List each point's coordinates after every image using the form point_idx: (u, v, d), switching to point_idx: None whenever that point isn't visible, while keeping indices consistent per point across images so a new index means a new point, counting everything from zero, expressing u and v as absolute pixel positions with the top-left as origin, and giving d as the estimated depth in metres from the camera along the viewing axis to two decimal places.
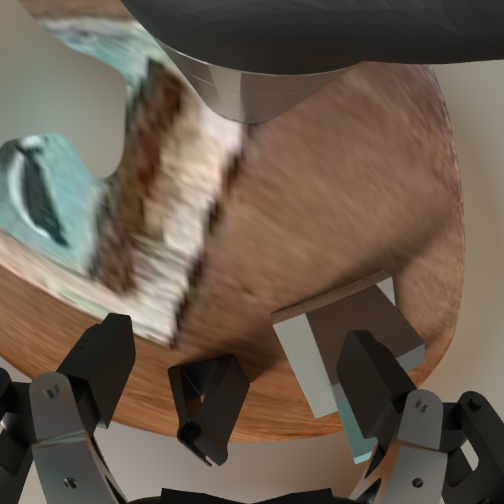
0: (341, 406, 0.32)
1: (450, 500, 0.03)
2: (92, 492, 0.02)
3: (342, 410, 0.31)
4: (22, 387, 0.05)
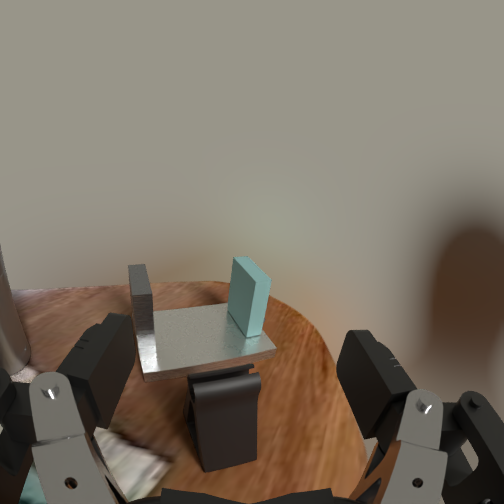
0: (246, 327, 0.42)
1: (451, 500, 0.03)
2: (92, 492, 0.02)
3: (246, 324, 0.41)
4: (22, 387, 0.05)
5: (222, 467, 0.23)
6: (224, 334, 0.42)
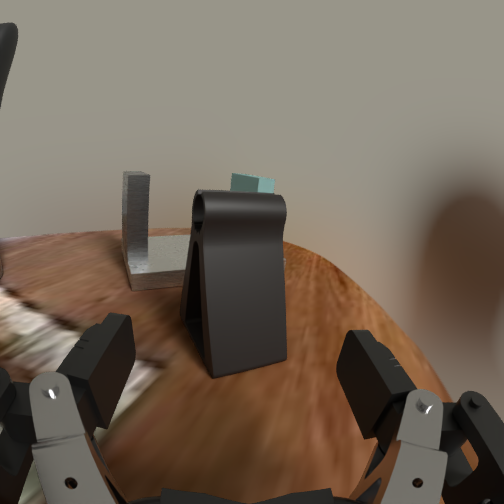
0: None
1: (450, 500, 0.03)
2: (92, 492, 0.02)
3: None
4: (22, 387, 0.05)
5: (239, 368, 0.18)
6: None
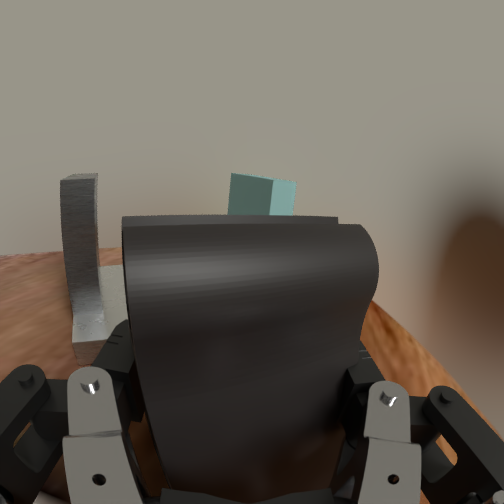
0: None
1: (433, 495, 0.04)
2: (120, 491, 0.03)
3: None
4: (56, 384, 0.05)
5: None
6: None
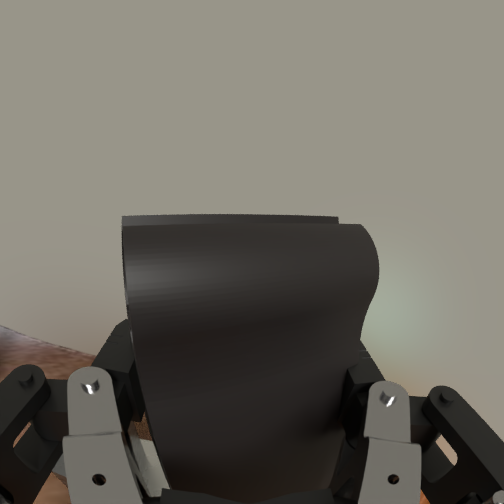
0: None
1: (433, 495, 0.04)
2: (120, 491, 0.03)
3: None
4: (56, 384, 0.05)
5: None
6: None
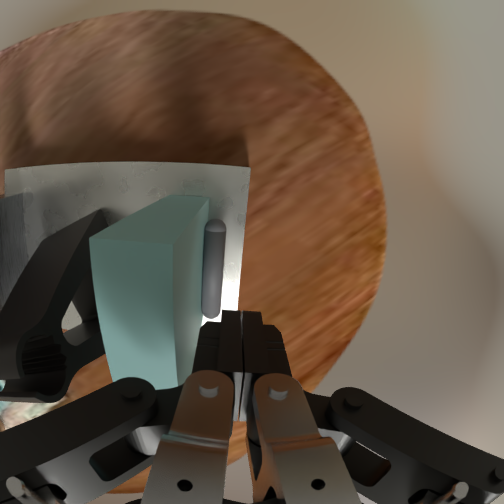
0: None
1: (376, 496, 0.04)
2: (202, 502, 0.03)
3: None
4: (160, 394, 0.06)
5: None
6: None
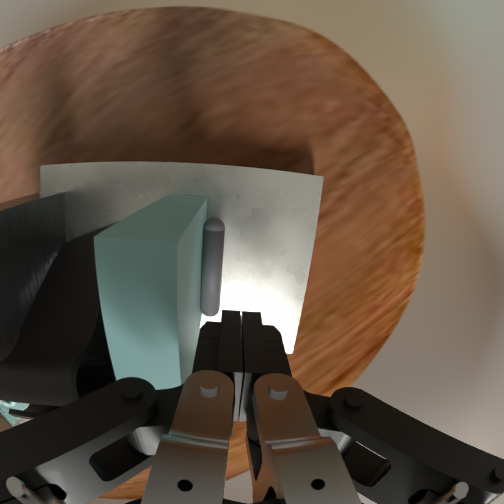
0: None
1: (376, 496, 0.04)
2: (202, 502, 0.03)
3: None
4: (160, 395, 0.06)
5: None
6: None
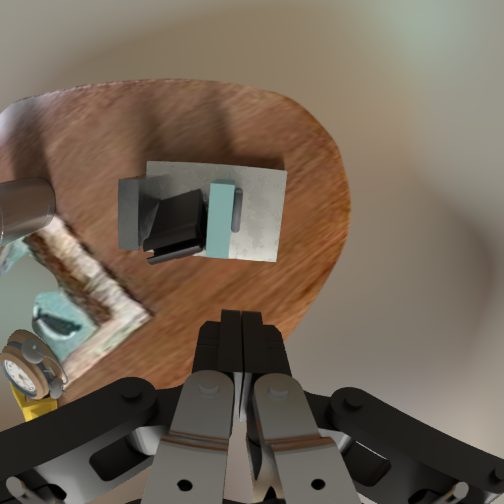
0: None
1: (376, 496, 0.04)
2: (202, 502, 0.03)
3: None
4: (160, 394, 0.06)
5: None
6: None
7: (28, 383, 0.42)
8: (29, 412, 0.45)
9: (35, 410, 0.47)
